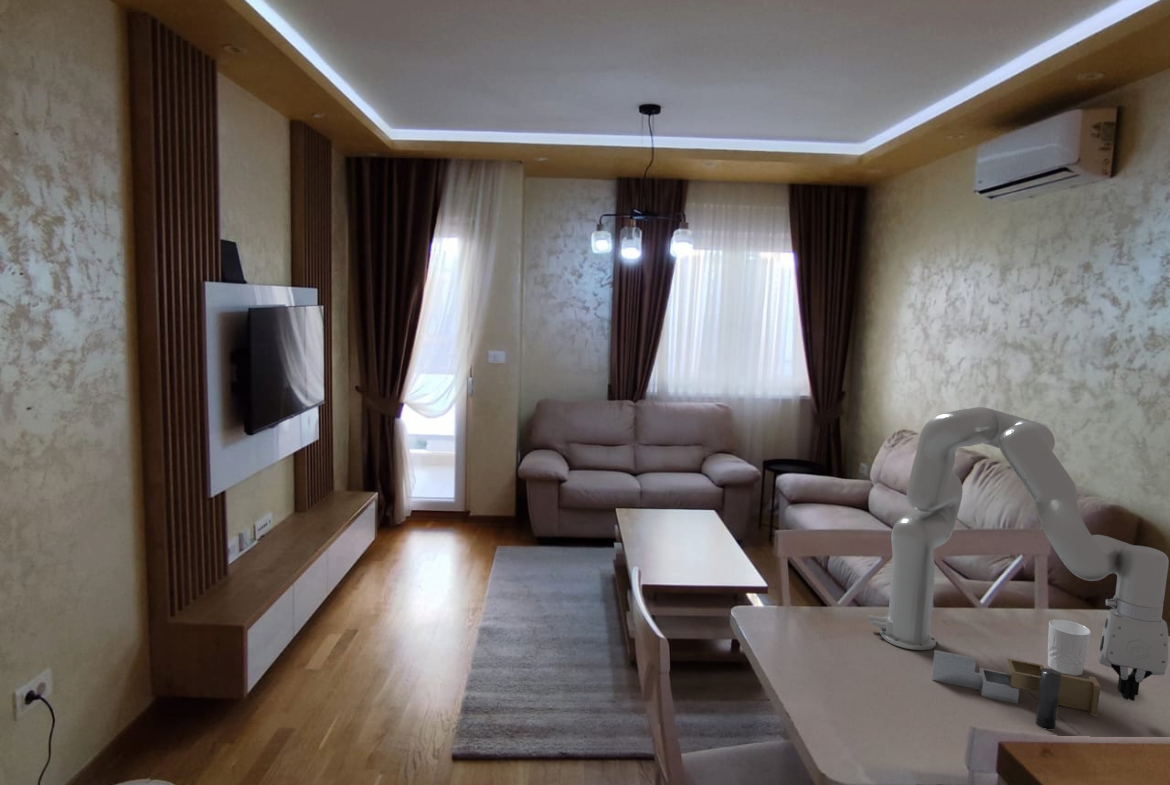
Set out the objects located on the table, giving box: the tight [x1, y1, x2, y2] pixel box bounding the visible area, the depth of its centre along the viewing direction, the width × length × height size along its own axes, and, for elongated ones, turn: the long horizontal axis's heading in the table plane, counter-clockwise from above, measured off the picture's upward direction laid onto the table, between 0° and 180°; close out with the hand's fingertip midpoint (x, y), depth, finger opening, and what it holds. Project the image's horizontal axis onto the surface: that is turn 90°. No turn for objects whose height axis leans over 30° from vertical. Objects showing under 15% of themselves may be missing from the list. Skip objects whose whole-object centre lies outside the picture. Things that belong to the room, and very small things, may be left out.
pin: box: [1035, 667, 1062, 730], centre depth 139 cm, size 3×3×11 cm
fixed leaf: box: [931, 649, 1020, 704], centre depth 152 cm, size 16×7×6 cm, turn 67°
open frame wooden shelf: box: [1005, 657, 1101, 717], centre depth 147 cm, size 16×7×6 cm, turn 67°
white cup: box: [1047, 619, 1092, 677], centre depth 162 cm, size 8×8×10 cm
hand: (1126, 696), depth 142 cm, fingers closed
